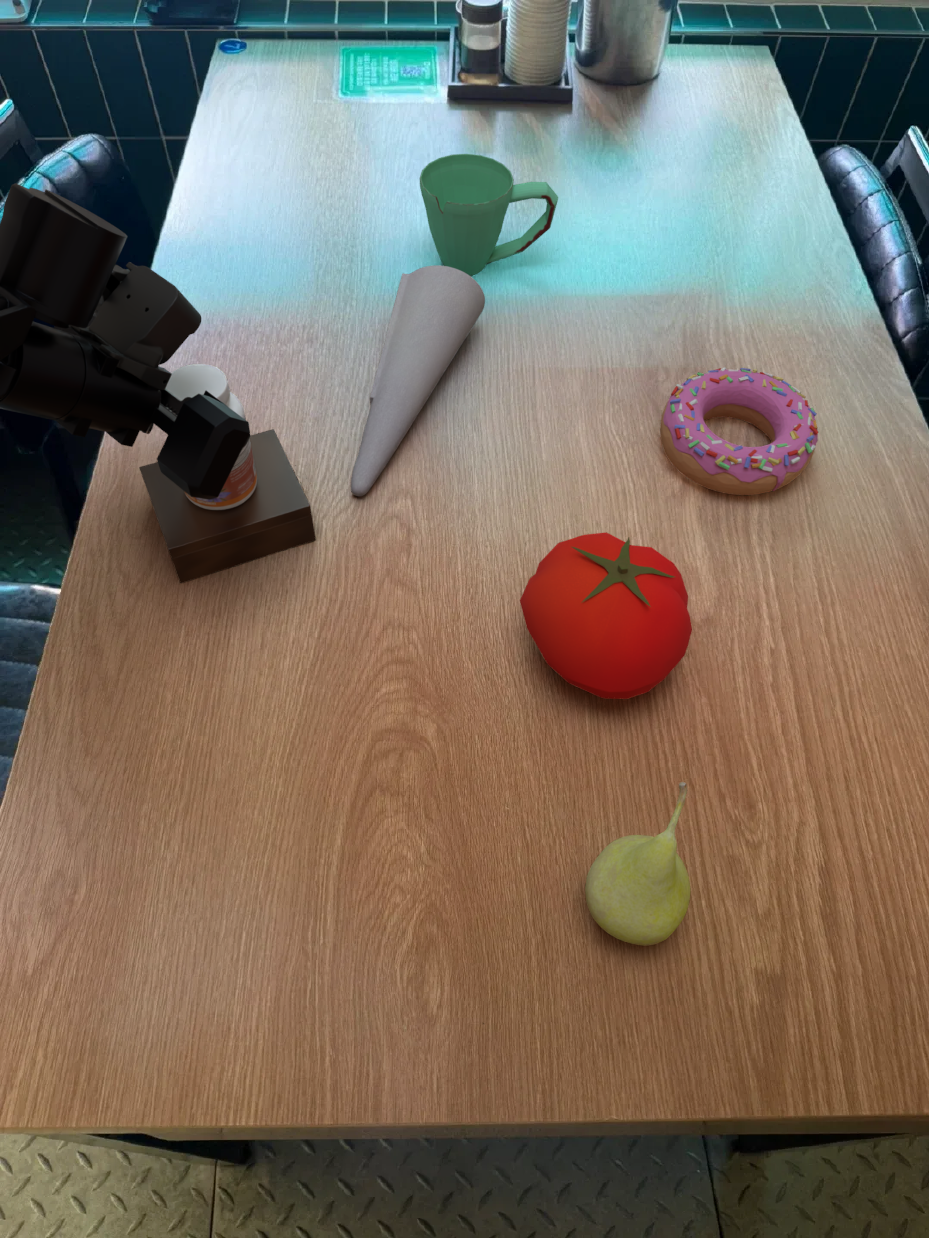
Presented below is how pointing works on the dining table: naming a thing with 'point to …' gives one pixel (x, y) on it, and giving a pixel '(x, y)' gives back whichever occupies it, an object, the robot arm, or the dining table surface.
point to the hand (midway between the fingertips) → (220, 420)
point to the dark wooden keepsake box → (233, 516)
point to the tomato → (608, 615)
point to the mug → (477, 209)
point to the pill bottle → (215, 382)
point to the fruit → (640, 885)
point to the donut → (749, 401)
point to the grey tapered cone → (414, 359)
